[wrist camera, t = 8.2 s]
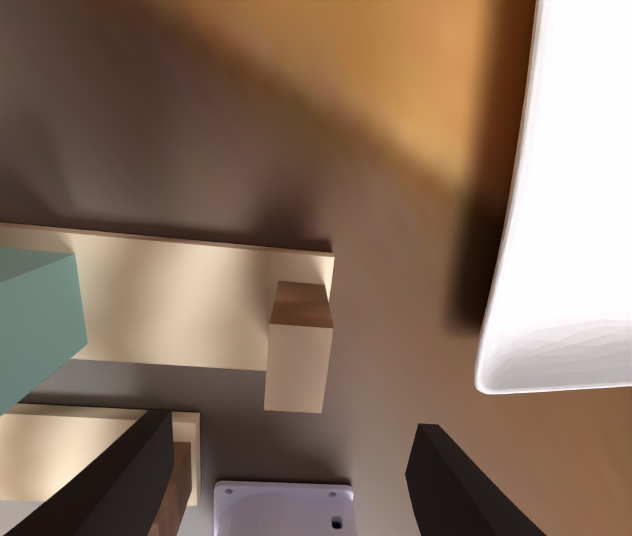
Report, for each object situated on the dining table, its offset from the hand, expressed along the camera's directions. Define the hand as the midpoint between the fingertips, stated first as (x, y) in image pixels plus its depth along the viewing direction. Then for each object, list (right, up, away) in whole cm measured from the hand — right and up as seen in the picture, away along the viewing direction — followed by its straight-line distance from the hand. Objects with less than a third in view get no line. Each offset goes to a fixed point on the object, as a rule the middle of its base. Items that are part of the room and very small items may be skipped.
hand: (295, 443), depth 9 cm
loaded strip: (-9, +4, +8) cm, 12 cm away
